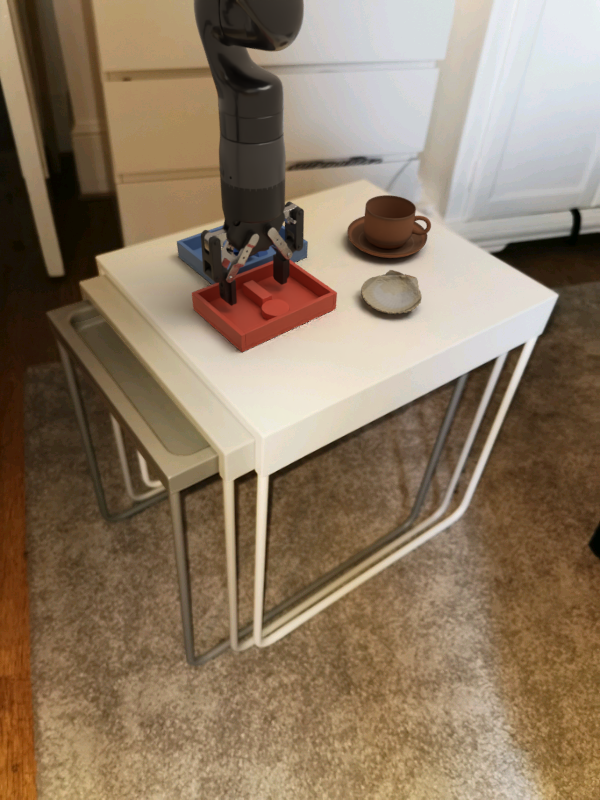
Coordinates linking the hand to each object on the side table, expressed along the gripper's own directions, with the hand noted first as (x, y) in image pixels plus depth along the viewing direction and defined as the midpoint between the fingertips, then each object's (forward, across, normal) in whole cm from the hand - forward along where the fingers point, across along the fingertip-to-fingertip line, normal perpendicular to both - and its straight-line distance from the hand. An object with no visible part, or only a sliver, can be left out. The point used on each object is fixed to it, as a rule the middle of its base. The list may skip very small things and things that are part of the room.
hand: (255, 291), depth 84 cm
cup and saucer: (+2, +25, 0) cm, 25 cm away
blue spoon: (0, +5, +9) cm, 11 cm away
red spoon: (+1, 0, -2) cm, 2 cm away
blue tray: (+2, +5, +10) cm, 12 cm away
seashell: (+2, +15, -11) cm, 18 cm away
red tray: (+2, 0, -2) cm, 3 cm away
